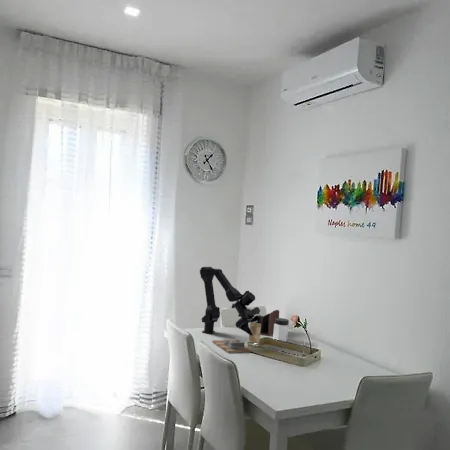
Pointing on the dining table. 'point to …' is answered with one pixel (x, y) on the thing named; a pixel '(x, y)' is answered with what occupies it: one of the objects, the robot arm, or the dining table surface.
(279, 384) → the dining table surface
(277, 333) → the jar
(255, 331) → the tan wooden block
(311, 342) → the dining table surface
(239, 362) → the dining table surface
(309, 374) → the dining table surface
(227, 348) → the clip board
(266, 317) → the letter holder
